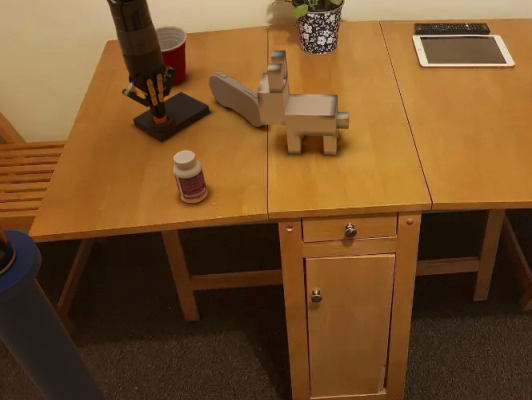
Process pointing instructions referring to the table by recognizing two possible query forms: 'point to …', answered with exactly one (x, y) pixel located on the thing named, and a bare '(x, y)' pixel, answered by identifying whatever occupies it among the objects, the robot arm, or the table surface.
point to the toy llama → (298, 109)
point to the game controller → (235, 97)
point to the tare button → (160, 120)
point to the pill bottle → (189, 177)
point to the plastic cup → (173, 50)
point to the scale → (173, 116)
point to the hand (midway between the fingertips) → (159, 116)
